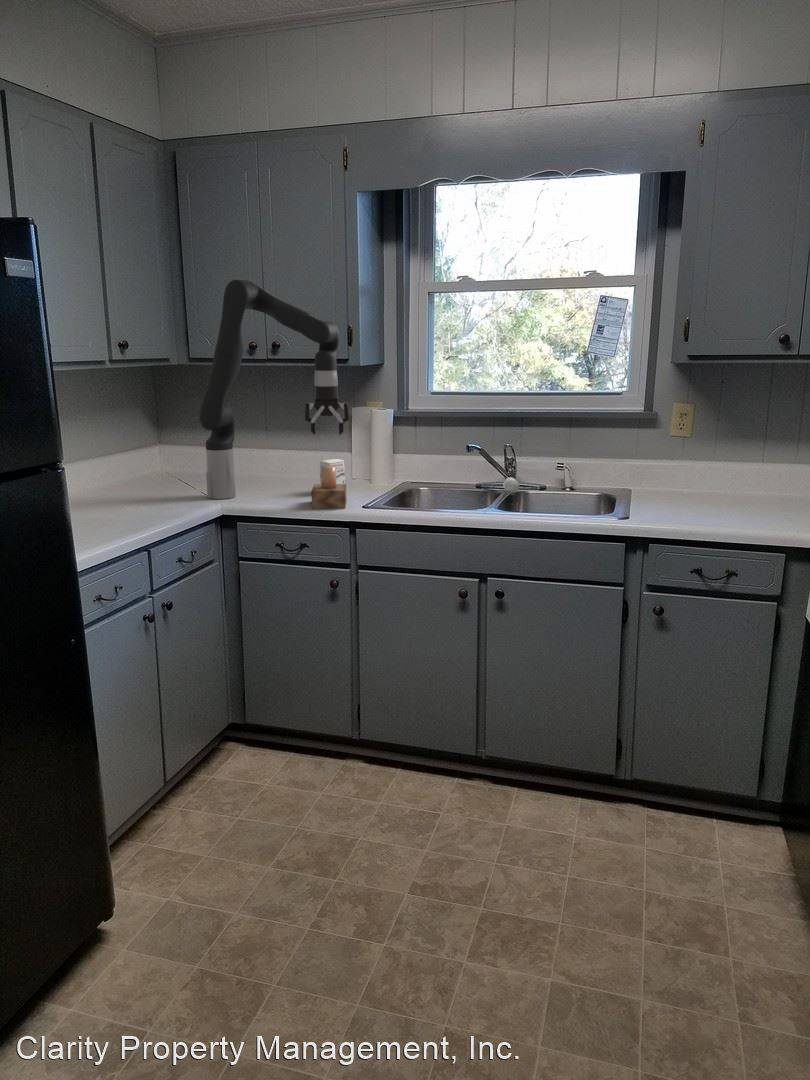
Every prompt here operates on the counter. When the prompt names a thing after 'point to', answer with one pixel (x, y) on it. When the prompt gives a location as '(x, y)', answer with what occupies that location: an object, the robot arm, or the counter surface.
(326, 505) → the walnut pedestal
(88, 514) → the counter surface
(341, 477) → the ink box
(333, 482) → the terracotta canister
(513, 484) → the off-white ball
